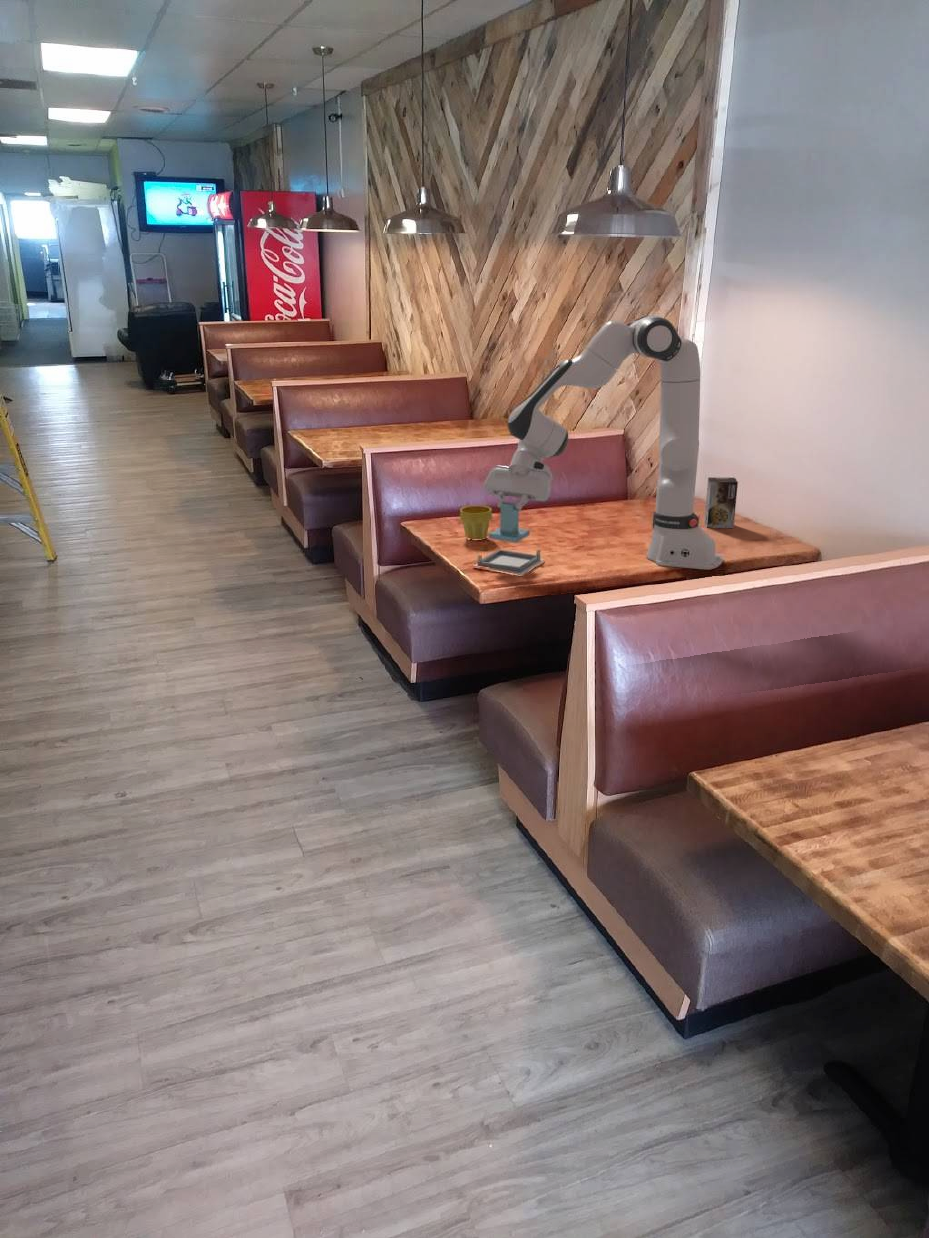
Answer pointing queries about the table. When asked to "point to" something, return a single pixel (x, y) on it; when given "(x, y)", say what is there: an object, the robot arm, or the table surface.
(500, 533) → the teal plate with post
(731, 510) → the coffee box
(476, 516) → the plant pot
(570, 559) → the table surface
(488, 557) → the base
